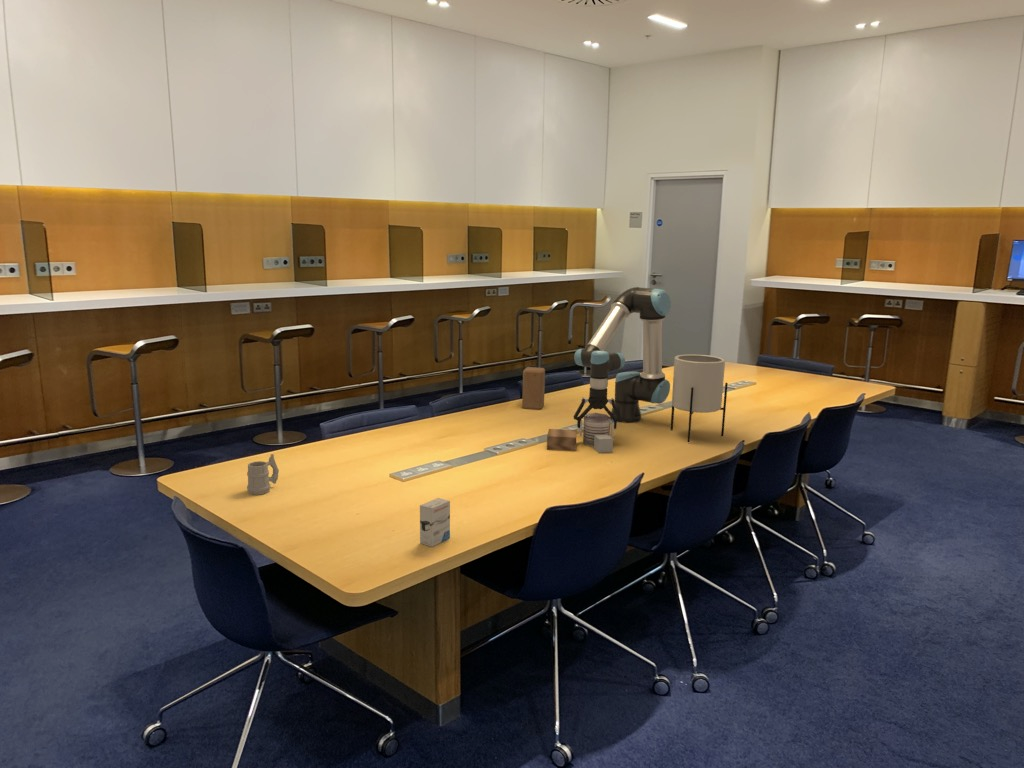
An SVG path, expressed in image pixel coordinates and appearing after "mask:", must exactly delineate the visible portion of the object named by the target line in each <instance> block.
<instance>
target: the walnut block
mask: <svg viewBox="0 0 1024 768" xmlns="http://www.w3.org/2000/svg"><path fill="white" fill-rule="evenodd" d="M577 431H578V430H577V429H564V428H563V429H560V428H548V431H547V437H546V438H547V439H546V450H548V451H549V450H550V451H551V450H552V451H572V452H576V451H577V450H576V449H577V438H578V437H577V436H578V435H577Z"/></svg>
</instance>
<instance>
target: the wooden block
mask: <svg viewBox="0 0 1024 768" xmlns="http://www.w3.org/2000/svg"><path fill="white" fill-rule="evenodd" d="M545 385H546V369H545V368H544V367H531V366H527V367H526V368H525V369H523V371H522V396H521V397H522V399H521V400H522V401H521V407H522V408H523V409H526V410H527V409H528V410H541V409H542V408H543V407H544V406H545V388H546V387H545Z"/></svg>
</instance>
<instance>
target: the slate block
mask: <svg viewBox="0 0 1024 768" xmlns="http://www.w3.org/2000/svg"><path fill="white" fill-rule="evenodd" d="M613 445H614V437H612V436H611V435H610V436H609V435H594V447H593V450H594V449H595V450H594V451H596V452H597V453H598V454H605V453H606V452H610V453H613V450H614V449H613V448H614V446H613Z"/></svg>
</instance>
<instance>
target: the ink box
mask: <svg viewBox="0 0 1024 768" xmlns="http://www.w3.org/2000/svg"><path fill="white" fill-rule="evenodd" d="M450 538H451V501H450V500H448V499H445V498H444V499H443V498H440V497H437V498H435V499H433V500H430V501H427V502H424V503H423V504H419V544H422V545H425V546H428V547H431V548H433V547H435V546H437V545H439V544H440V543H442V542H444V541H446V540H448V539H450Z"/></svg>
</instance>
